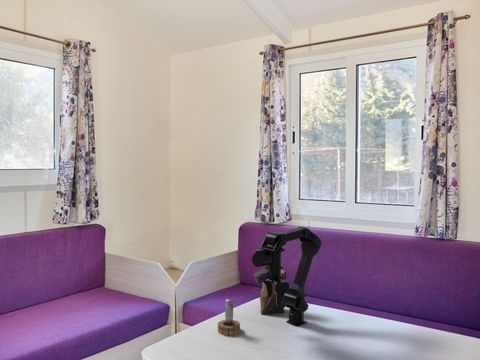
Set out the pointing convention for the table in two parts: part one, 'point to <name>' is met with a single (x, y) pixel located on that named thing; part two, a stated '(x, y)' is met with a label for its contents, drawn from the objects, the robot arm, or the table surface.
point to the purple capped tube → (229, 312)
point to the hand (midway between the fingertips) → (273, 300)
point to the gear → (228, 328)
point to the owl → (271, 300)
